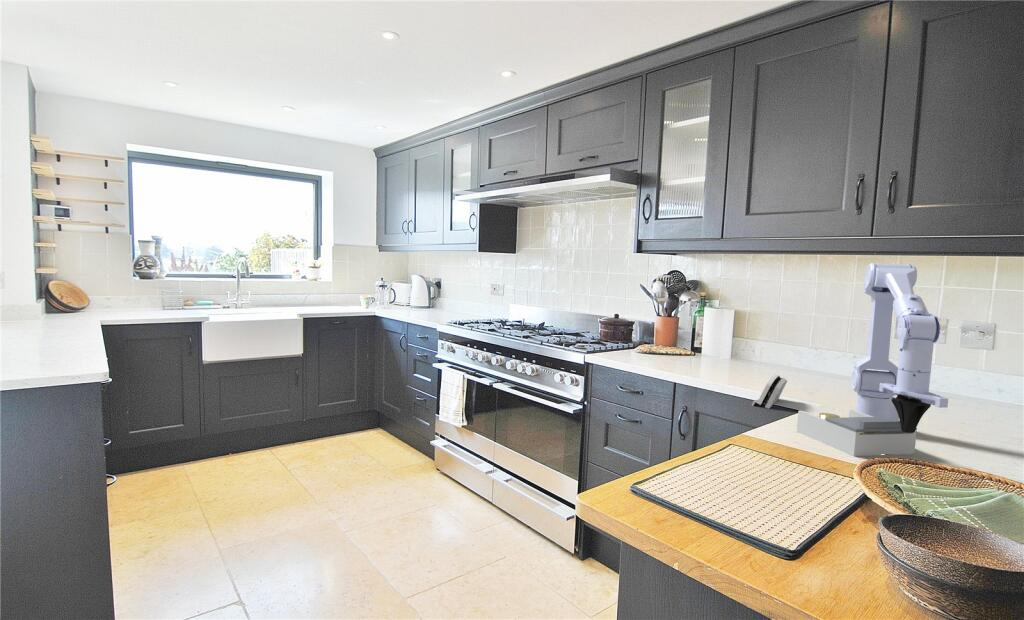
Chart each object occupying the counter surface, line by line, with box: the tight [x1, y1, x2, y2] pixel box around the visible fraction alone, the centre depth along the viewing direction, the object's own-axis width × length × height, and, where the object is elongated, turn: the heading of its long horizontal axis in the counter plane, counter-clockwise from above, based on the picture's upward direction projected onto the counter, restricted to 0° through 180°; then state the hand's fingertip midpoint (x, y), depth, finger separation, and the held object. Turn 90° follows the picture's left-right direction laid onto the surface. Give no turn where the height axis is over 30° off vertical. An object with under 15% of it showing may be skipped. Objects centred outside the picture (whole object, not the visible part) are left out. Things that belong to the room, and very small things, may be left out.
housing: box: [796, 409, 917, 457], centre depth 129 cm, size 16×18×6 cm
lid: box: [825, 416, 918, 432], centre depth 125 cm, size 16×9×2 cm, turn 101°
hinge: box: [751, 374, 788, 409], centre depth 168 cm, size 17×5×10 cm, turn 145°
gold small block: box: [818, 412, 841, 419], centre depth 135 cm, size 4×4×5 cm
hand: (908, 431), depth 117 cm, fingers closed
